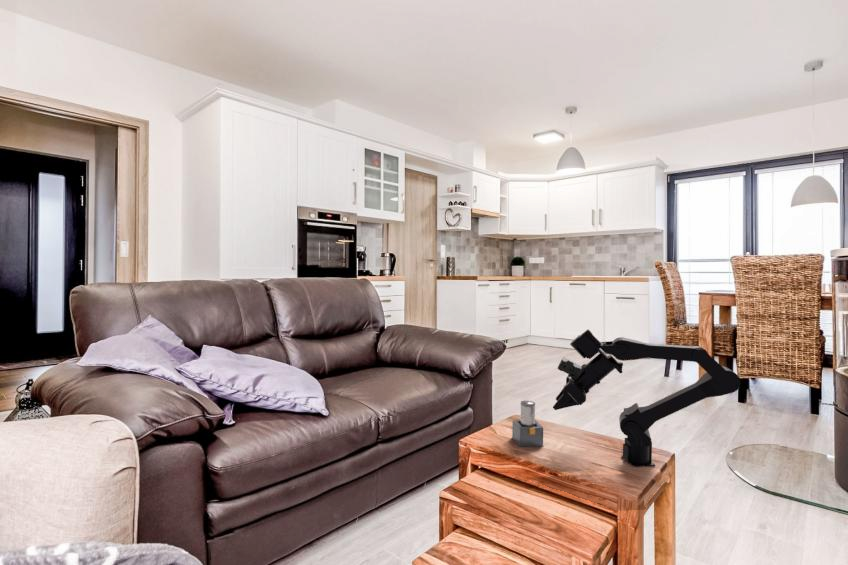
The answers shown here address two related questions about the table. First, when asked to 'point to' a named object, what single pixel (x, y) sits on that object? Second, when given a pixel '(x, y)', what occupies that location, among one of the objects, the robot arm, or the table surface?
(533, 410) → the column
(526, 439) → the stand collar
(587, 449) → the table surface
